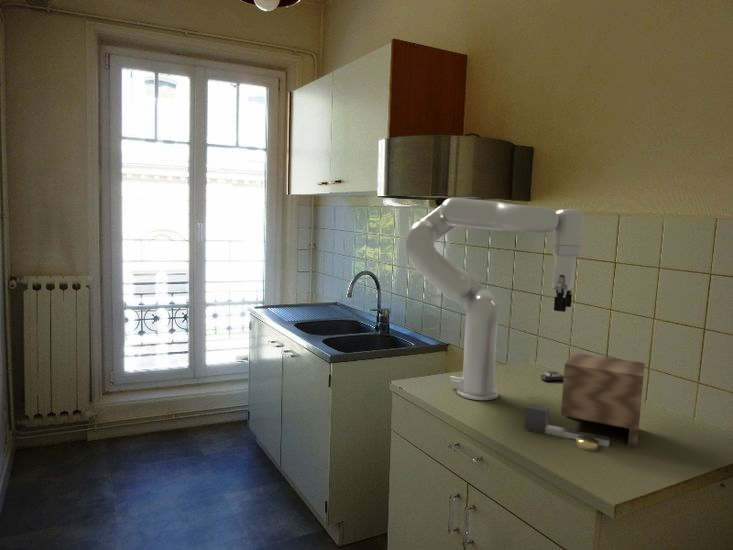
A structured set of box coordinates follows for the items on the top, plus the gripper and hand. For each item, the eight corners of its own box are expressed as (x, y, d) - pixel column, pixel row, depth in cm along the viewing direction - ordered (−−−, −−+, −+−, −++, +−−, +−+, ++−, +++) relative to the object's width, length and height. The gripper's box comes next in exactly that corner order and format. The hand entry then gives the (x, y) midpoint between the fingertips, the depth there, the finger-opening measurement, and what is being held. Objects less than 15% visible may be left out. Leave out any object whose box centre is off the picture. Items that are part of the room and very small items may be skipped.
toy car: (567, 382, 184) (568, 359, 183) (536, 383, 181) (537, 360, 180) (560, 378, 188) (562, 356, 187) (529, 380, 185) (531, 357, 184)
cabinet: (559, 431, 140) (564, 364, 138) (567, 414, 152) (572, 352, 150) (636, 447, 132) (643, 376, 130) (638, 428, 144) (644, 362, 142)
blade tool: (524, 429, 141) (526, 407, 140) (527, 425, 144) (529, 403, 143) (608, 447, 131) (610, 423, 131) (609, 442, 134) (611, 419, 134)
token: (574, 448, 131) (575, 441, 130) (576, 441, 135) (576, 434, 135) (597, 453, 129) (597, 446, 128) (597, 445, 133) (598, 438, 133)
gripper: (558, 249, 168) (554, 303, 170) (547, 252, 153) (543, 311, 155) (584, 250, 165) (580, 306, 167) (575, 253, 150) (571, 314, 152)
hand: (562, 308), depth 161 cm, fingers open, 9 cm apart
